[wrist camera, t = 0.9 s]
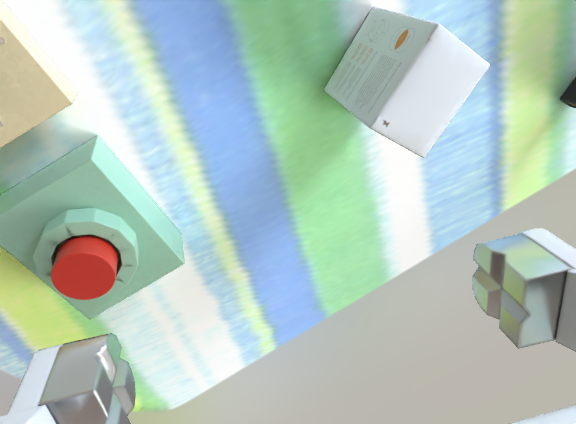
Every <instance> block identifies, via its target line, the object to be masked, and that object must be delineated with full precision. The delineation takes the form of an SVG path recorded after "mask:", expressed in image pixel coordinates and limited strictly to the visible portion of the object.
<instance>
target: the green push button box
mask: <svg viewBox="0 0 576 424" xmlns="http://www.w3.org/2000/svg"><path fill="white" fill-rule="evenodd" d="M78 236H95V237H99V238H101V239H104V240H105V241H107V242H108V243H110V244H111V245H112V246H113V247H114V249H115V250H116V253H117V256H118V263H117V272H116V280H115V283H114V285H113V287H112V288H111V289H110V290H109V291H108V292H107V293H106V294H104V295H103V296H101V297H98V298H95V299H90V300H78V299H73V298H70V297H67V296H65V295H63V294H62V293H60V292H59V291H58V290H57V289H56V288H55V286H54V285H53V282H52V279H51V272H52V268H53V265H54V262H55V258H56V255H57V252H58V250H59V248H60V247H61V246H62V245H63V244H64V243H65V242H66V241H68V240H70V239H72V238H74V237H78ZM0 246H1V247H3V248H4V249H5V250H6V251H7V252H9V253H10V254H11V255H12V256H13V257H15V258H16V259H17V260H18V261H19V262H21V263H22V264H23V265H24V266H25V267H27V268H28V269H29V270H30V271H32V272H33V273H34V274H35V275H36V276H38V277H39V278H40V279H41V280H42V281H44V282H45V283H46V284H47V285H48V286H50V287H51V288H52V289H53V290H54V291H56V292H57V293H58V294H59V295H61V296H62V297H63V298H64V299H65V300H67V301H68V302H69V303H70V304H71V305H73V306H74V307H75V308H76V309H77V310H79V311H80V312H81V313H82V314H83V315H85V316H86V317H87V318H88V319H91V318H93V317H95V316H97V315H98V314H100V313H102V312H103V311H105V310H107V309H108V308H110V307H112V306H113V305H115V304H117V303H119V302H120V301H122V300H124V299H125V298H127V297H129V296H130V295H132V294H134V293H136V292H137V291H139V290H141V289H142V288H144V287H146V286H147V285H149V284H151V283H152V282H154V281H156V280H158V279H159V278H161V277H163V276H164V275H166V274H168V273H169V272H171V271H173V270H174V269H176V268H178V267H180V266H181V265H183V264H184V252H183V242H182V233H181V232H180V231H179V229H178V228H177V227H176V226H175V225H174V224H173V222H172V221H171V220H170V219H169V218H168V216H167V215H166V214H165V213H164V212H163V211H162V209H161V208H160V207H159V206H158V205H157V204H156V202H155V201H154V200H153V199H152V198H151V196H150V195H149V194H148V193H147V192H146V191H145V189H144V188H143V187H142V186H141V185H140V184H139V182H138V181H137V180H136V179H135V178H134V177H133V175H132V174H131V173H130V172H129V171H128V169H127V168H126V167H125V166H124V165H123V164H122V162H121V161H120V160H119V159H118V158H117V157H116V155H115V154H114V153H113V152H112V151H111V149H110V148H109V147H108V146H107V145H106V144H105V142H104V141H103V140H102V139H101V138H100V137H99V136H98V135H97V136H96V137H94V138H92V139H91V140H89V141H87V142H86V143H84V144H82V145H81V146H79V147H78V148H76V149H74V150H73V151H71V152H69V153H68V154H66V155H65V156H63V157H61V158H60V159H58V160H56V161H55V162H53V163H51V164H50V165H48V166H47V167H45V168H43V169H42V170H40V171H38V172H37V173H35V174H34V175H32V176H30V177H29V178H27V179H25V180H24V181H22V182H20V183H19V184H17V185H16V186H14V187H12V188H11V189H9V190H7V191H6V192H4V193H3V194H1V195H0Z"/></svg>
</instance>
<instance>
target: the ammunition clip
mask: <svg viewBox="0 0 576 424" xmlns="http://www.w3.org/2000/svg"><path fill="white" fill-rule="evenodd" d="M560 100H561V101H563V102H564V103H565V104H567V105H568V106H570V107H573V108H576V78H575V79H574V80H573V82H572V83H571V84H570V86H569V87H568V88H567V90H566V91H565V92H564V94H563V95H562V96H561V98H560Z"/></svg>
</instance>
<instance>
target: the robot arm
mask: <svg viewBox="0 0 576 424" xmlns="http://www.w3.org/2000/svg"><path fill="white" fill-rule="evenodd" d="M473 260H474V261H475V262H476V263H477V264H478V266H479V267H478V269H477V270H476V272H475V273H474V275H473V291H474V295H475V298H476V300H477V302H478V304H479V305H480V307H481V308H482V309H483V311H484V312H485V313H486V314H487V315H489V316H491V317H494V318H496V319H499V320H500V322H499V328H500V329H501V331H502V332H503V333H504V334H506V336H507V337H508V338H509V339H510V340H511V341H512V342H513V343H514V344H515V346H516V347H517V348H518V349H519V348H523V347H528V346H532V345H536V344H540V343H544V342H548V341H552V340H556V342H557V343H559V344H562V345H563V346H565V347H567V348H569V349H571V350H574V351H575V352H576V250H575V249H574V248H573V247H571V246H570V245H568V244H567V243H565V242H564V241H562V240H561V239H559V238H558V237H556V236H555V235H553V234H551V233H550V232H548V231H547V230H545V229H542V228H536V229H532V230H528V231H525V232H521V233H518V234H517V235H513V236H508V237H504V238H501V239H496V240H492V241H489V242H485V243H481V244H477V245H476V247H475V250H474V258H473ZM120 353H121V345H120V343H119V341H118V339H117V337H116V335H114V334H112V333H110V334H106V335H101V336H97V337H92V338H88V339H83V340H79V341H74V342H70V343H65V344H63V345H57V346H53V347H49V348H44V349H40V350H38V351H37V352H36V353H34V355H33V356H32V359H31V361H30V363H29V366H28V368H27V370H26V372H25V375H24V377H23V379H22V381H21V384H20V386H19V388H18V391H17V393H16V395H15V397H14V400H13V402H12V404H11V407H10V409H9V411H8V413H7V415H3V416H0V424H131V423H130V421H129V419H128V417H127V416H128V414H129V413H130V412H131V411H132V409H133V408H134V404H135V382H134V378H133V374H132V370H131V368H130V366H129V363H128V362H126V361H124V360H123V359H121V358H120ZM510 424H576V405H572V406H569V407H565V408H562V409H559V410H555V411H552V412H548V413H545V414H541V415H538V416H534V417H531V418H528V419H524V420H521V421H517V422H514V423H510Z"/></svg>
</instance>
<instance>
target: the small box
mask: <svg viewBox="0 0 576 424" xmlns="http://www.w3.org/2000/svg"><path fill="white" fill-rule="evenodd" d="M489 67H490V64H489V63H488V62H486V61H485V60H484V59H483V58H481V57H480V56H479V55H478V54H477V53H475V52H474V51H473V50H472V49H470V48H469V47H468V46H467V45H465V44H464V43H463V42H462V41H460V40H459V39H458V38H457V37H455V36H454V35H453V34H452V33H450V32H449V31H448V30H447V29H445V28H444V27H443V26H442V25H440V24H439V23H436V22H432V21H428V20H424V19H420V18H416V17H412V16H409V15H405V14H401V13H397V12H393V11H389V10H385V9H381V8H377V7H373V8H372V9H371V11H370V13H369V14H368V16H367V18H366V19H365V21H364V23H363V24H362V26H361V28H360V29H359V31H358V33H357V34H356V36H355V38H354V40H353V41H352V43H351V45H350V46H349V48H348V50H347V51H346V53H345V55H344V56H343V58H342V60H341V62H340V63H339V65H338V67H337V68H336V70H335V72H334V73H333V75H332V77H331V78H330V80H329V82H328V83H327V85H326V87H325V89H324V91H325V92H326V93H327V94H329V95H330V96H331V97H333V98H334V99H335V100H336V101H337V102H339V103H340V104H341V105H342V106H344V107H345V108H346V109H347V110H348V111H350V112H351V113H352V114H353V115H354V116H355V117H357V118H358V119H359V120H360V121H361V122H363V123H364V124H365V125H366V126H368V127H369V128H371V129H372V130H374V131H376V132H378V133H380V134H381V135H383V136H385V137H387V138H388V139H390V140H392V141H394V142H396V143H397V144H399V145H401V146H403V147H405V148H406V149H408V150H410V151H412V152H414V153H415V154H417V155H419V156H421V157H423V158H425V157H426V155H427V154H428V152H429V151H430V149H431V148H432V147H433V145H434V144H435V142H436V141H437V140H438V138H439V137H440V135H441V134H442V132H443V131H444V130H445V128H446V127H447V125H448V124H449V123H450V121H451V120H452V118H453V117H454V115H455V114H456V113H457V111H458V110H459V108H460V107H461V106H462V104H463V103H464V101H465V100H466V99H467V97H468V96H469V94H470V93H471V92H472V90H473V89H474V87H475V86H476V85H477V83H478V82H479V80H480V79H481V78H482V76H483V75H484V73H485V72H486V71H487V69H488V68H489Z"/></svg>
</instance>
